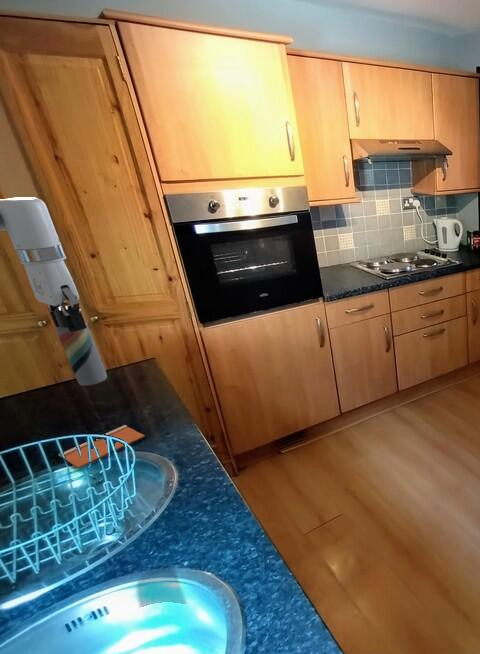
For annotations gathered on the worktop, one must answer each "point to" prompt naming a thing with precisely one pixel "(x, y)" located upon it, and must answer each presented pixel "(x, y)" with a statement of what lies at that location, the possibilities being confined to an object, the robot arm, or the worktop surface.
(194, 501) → the worktop surface
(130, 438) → the orange flat block
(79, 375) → the lotion bottle
